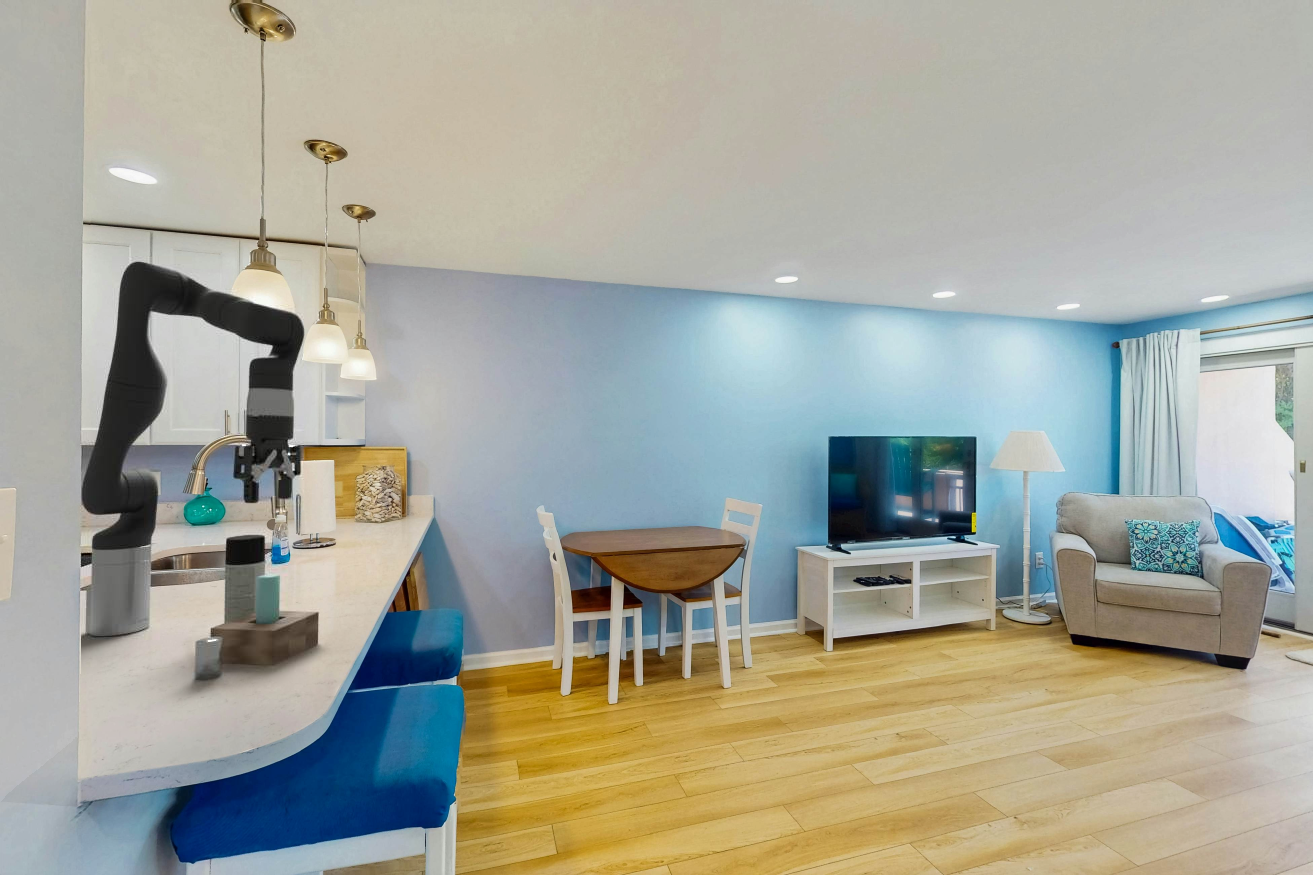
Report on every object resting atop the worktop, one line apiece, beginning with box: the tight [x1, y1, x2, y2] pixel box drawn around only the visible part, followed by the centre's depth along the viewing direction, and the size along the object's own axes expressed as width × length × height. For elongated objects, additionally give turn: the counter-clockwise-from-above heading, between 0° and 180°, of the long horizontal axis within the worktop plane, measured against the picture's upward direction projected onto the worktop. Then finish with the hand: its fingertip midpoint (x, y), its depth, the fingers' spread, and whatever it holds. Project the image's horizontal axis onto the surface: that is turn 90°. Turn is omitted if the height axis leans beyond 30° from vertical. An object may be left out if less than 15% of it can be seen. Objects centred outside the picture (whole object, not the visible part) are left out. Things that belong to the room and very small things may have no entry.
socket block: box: [209, 610, 320, 666], centre depth 113 cm, size 12×12×6 cm
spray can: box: [223, 534, 266, 624], centre depth 122 cm, size 7×7×20 cm
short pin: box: [194, 636, 223, 682], centre depth 101 cm, size 4×4×6 cm
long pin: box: [256, 574, 281, 624], centre depth 113 cm, size 4×4×14 cm
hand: (268, 500), depth 113 cm, fingers open, 8 cm apart
